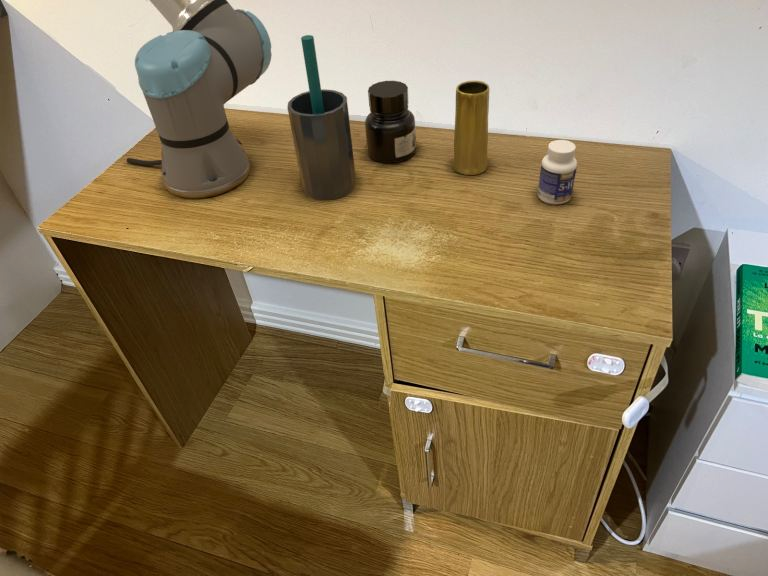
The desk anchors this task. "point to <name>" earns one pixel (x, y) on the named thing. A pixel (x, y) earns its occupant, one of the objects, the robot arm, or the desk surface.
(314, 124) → the grey pvc pipe
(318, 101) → the brush
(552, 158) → the pill bottle
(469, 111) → the vase
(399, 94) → the ink bottle
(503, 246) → the desk surface
